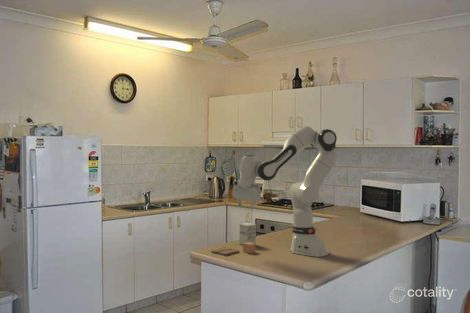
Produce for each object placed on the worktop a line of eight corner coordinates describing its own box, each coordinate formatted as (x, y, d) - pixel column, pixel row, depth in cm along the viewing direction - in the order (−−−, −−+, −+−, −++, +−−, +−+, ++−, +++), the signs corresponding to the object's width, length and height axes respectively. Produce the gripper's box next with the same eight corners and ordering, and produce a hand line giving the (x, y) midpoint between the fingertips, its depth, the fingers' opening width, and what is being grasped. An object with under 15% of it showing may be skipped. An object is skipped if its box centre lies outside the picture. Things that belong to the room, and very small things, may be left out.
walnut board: (239, 252, 229) (239, 250, 229) (225, 256, 221) (225, 254, 221) (224, 248, 237) (224, 247, 237) (211, 252, 228) (211, 250, 228)
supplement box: (238, 244, 248) (239, 223, 248) (247, 242, 253) (248, 222, 253) (246, 246, 243) (247, 225, 243) (256, 244, 248) (256, 224, 247)
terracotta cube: (255, 252, 231) (255, 243, 231) (249, 253, 227) (249, 244, 227) (248, 250, 234) (248, 241, 234) (242, 252, 230) (243, 243, 230)
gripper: (264, 185, 225) (262, 210, 225) (239, 181, 240) (237, 205, 240) (256, 185, 221) (254, 210, 221) (231, 181, 236) (229, 205, 236)
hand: (245, 207), depth 231 cm, fingers open, 8 cm apart
